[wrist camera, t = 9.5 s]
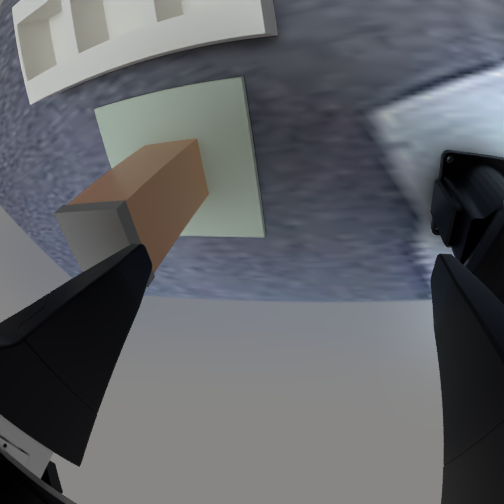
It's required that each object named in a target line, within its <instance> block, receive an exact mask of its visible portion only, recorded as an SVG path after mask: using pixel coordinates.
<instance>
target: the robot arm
mask: <svg viewBox="0 0 504 504" xmlns="http://www.w3.org/2000/svg"><path fill="white" fill-rule="evenodd" d="M448 156H451V160H449V161H447V157H448ZM431 214H432V217H433V218H432V223H431V230H432V232H433V234H434V235H441V238H442V240H443V243H444V244H445V246H446V247H451V248H452V251H453V253H454V256H455V257H454V256H453V255H451V254H439V255H438V256H437V258H436V261H435V265H434V269H433V272H432V276H431V291H432V303H433V318H434V331H435V339H436V346H437V352H438V361H439V370H440V379H441V391H442V406H443V424H444V425H443V426H444V467H443V485H442V499H441V504H504V158H500V157H494V156H488V155H481V154H474V153H467V152H459V151H451V150H447V151H445V152H444V153H443V154H442V158H441V166H440V174H439V179H437V180H436V181H435V186H434V193H433V200H432V206H431ZM436 227H437V228H438V229H435V228H436ZM151 271H152V262H151V259H150V257H149V254H148V252H147V249H146V247H145V245H144V244H141V243H133V244H130V245H129V246H127V247H125V248H123V249H122V250H120V251H118V252H116V253H115V254H113V255H111V256H109V257H108V258H106V259H104V260H103V261H101V262H99V263H98V264H96V265H94V266H92V267H91V268H89V269H87V270H86V271H84V272H82V273H81V274H79V275H78V276H76V277H74V278H73V279H71V280H69V281H68V282H66V283H64V284H63V285H62V286H60V287H58V288H56V289H55V290H53V291H52V292H51V293H50V294H47V295H45V296H44V297H42V298H41V299H39V300H37V301H36V302H34V303H33V304H31V305H30V306H28V307H26V308H24V309H23V310H21V311H19V312H18V313H16V314H14V315H13V316H11V317H9V318H8V319H6V320H4V321H3V322H1V323H0V504H76V503H75V502H73V501H72V500H70V499H68V498H67V497H65V496H64V495H62V492H63V491H62V488H61V484H60V481H59V477H58V473H57V469H56V465H55V463H53V462H52V461H50V458H51V456H52V454H53V452H54V453H56V454H58V455H60V456H61V457H63V458H64V459H66V460H68V461H70V462H71V463H73V464H75V465H77V466H80V465H81V462H82V459H83V456H84V453H85V449H86V447H87V443H88V440H89V437H90V434H91V431H92V428H93V425H94V422H95V419H96V417H97V413H98V410H99V407H100V405H101V402H102V399H103V397H104V394H105V391H106V388H107V386H108V383H109V380H110V378H111V375H112V372H113V370H114V368H115V365H116V362H117V360H118V357H119V355H120V352H121V350H122V348H123V345H124V343H125V340H126V338H127V335H128V333H129V331H130V328H131V326H132V324H133V321H134V319H135V317H136V314H137V312H138V309H139V307H140V304H141V301H142V298H143V295H144V292H145V289H146V286H147V283H148V280H149V277H150V274H151Z"/></svg>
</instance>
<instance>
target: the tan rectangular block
mask: <svg viewBox="0 0 504 504" xmlns="http://www.w3.org/2000/svg"><path fill="white" fill-rule="evenodd" d="M208 195H209V192H208V187H207V183H206V178H205V174H204V169H203V164H202V160H201V155H200V150H199V146H198V141H197V138H195V139H187V140H179V141H171V142H164V143H157V144H150V145H144V146H143V147H141V148H140V149H138V150H137V151H136V152H134V153H133V154H131V155H130V156H129V157H127V158H126V159H124V160H123V161H122V162H120V163H119V164H118V165H116V166H115V167H114V168H112V169H111V170H110V171H108V172H107V173H106V174H104V175H103V176H102V177H100V178H99V179H98V180H97V181H95V182H94V183H93V184H92V185H90V186H89V187H88V188H87V189H85V190H84V191H83V192H82V193H81V194H79V195H78V196H77V197H76V198H75V199H73V200H72V201H71V202H70V203H69V204H68V205H63V206H62V207H61V208H59V209H58V210H57V211H56V212H55V213H54V214H55V217H56V219H57V221H58V223H59V226H60V228H61V230H62V232H63V234H64V236H65V238H66V240H67V242H68V244H69V246H70V249H71V251H72V252H73V254H74V256H75V258H76V260H77V262H78V264H79V266H80V268H81V270H82V272H84V271H86V270H87V269H89V268H91V267H92V266H94V265H96V264H98V263H99V262H101V261H103V260H104V259H106V258H108V257H109V256H111V255H113V254H115V253H116V252H118V251H120V250H122V249H123V248H125V247H127V246H129V245H130V244H133V243H141V244H144V245H145V247H146V249H147V252H148V254H149V257H150V259H151V262H152V271H151V274H150V277H149V280H148V283H147V286H146V287H149V285H150V283H151V282H152V280H153V279H154V277H155V276H154V272H155V271H156V269H157V268H158V266H159V265H160V263H161V262H162V260H163V259H164V257H165V256H166V255H167V253H168V252H169V250H170V249H171V247H172V246H173V244H174V243H175V241H176V240H177V238H178V237H179V236H180V234H181V233H182V231H183V230H184V228H185V227H186V226H187V224H188V223H189V221H190V220H191V219H192V217H193V216H194V214H195V213H196V212H197V210H198V209H199V207H200V206H201V205H202V203H203V202H204V200H205V199H206V198H207V196H208Z"/></svg>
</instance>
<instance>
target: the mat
mask: <svg viewBox="0 0 504 504" xmlns="http://www.w3.org/2000/svg"><path fill="white" fill-rule="evenodd" d="M94 111H95V114H96V118H97V122H98V125H99V129H100V132H101V136H102V139H103V143H104V146H105V149H106V153H107V156H108V159H109V162H110V165H111V168H114V167H115V166H116V165H118V164H119V163H120V162H122V161H123V160H124V159H126V158H127V157H129V156H130V155H131V154H133V153H134V152H136V151H137V150H138V149H140V148H141V147H143V146H144V145H150V144H157V143H164V142H171V141H179V140H187V139H195V138H197V141H198V146H199V150H200V155H201V160H202V164H203V169H204V174H205V178H206V183H207V187H208V192H209V195H208V196H207V198H206V199H205V200H204V202H203V203H202V205H201V206H200V207H199V209H198V210H197V212H196V213H195V214H194V216H193V217H192V219H191V220H190V221H189V223H188V224H187V226H186V227H185V228H184V230H183V231H182V233H181V234H180V236H221V237H265V234H266V231H265V223H264V216H263V208H262V201H261V193H260V186H259V179H258V172H257V164H256V157H255V150H254V143H253V136H252V129H251V122H250V115H249V109H248V102H247V95H246V88H245V82H244V76H243V77H235V78H227V79H220V80H214V81H207V82H201V83H196V84H190V85H185V86H180V87H175V88H170V89H165V90H161V91H157V92H152V93H148V94H144V95H140V96H136V97H132V98H129V99H125V100H121V101H118V102H114V103H111V104H108V105H104V106H101V107H98V108H96V109H94Z"/></svg>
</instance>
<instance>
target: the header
mask: <svg viewBox="0 0 504 504" xmlns="http://www.w3.org/2000/svg"><path fill="white" fill-rule="evenodd" d="M12 12H13V21H14V28H15V35H16V41H17V47H18V53H19V58H20V63H21V68H22V73H23V77H24V82H25V86H26V90H27V94H28V98H29V102H30V105H31V104H33V103H35V102H38V101H40V100H42V99H45V98H47V97H50V96H52V95H55V94H57V93H60V92H62V91H65V90H67V89H69V88H72V87H74V86H76V85H79V84H81V83H84V82H86V81H89V80H91V79H94V78H96V77H99V76H101V75H104V74H107V73H110V72H112V71H115V70H118V69H121V68H124V67H127V66H130V65H133V64H136V63H140V62H143V61H146V60H150V59H153V58H157V57H161V56H164V55H168V54H172V53H176V52H180V51H184V50H189V49H193V48H198V47H203V46H208V45H213V44H218V43H224V42H230V41H236V40H243V39H251V38H259V37H268V36H278V31H277V24H276V17H275V10H274V4H273V0H20V1H19V2H18V3H17V4H16V5H15V6H13V7H12Z"/></svg>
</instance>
